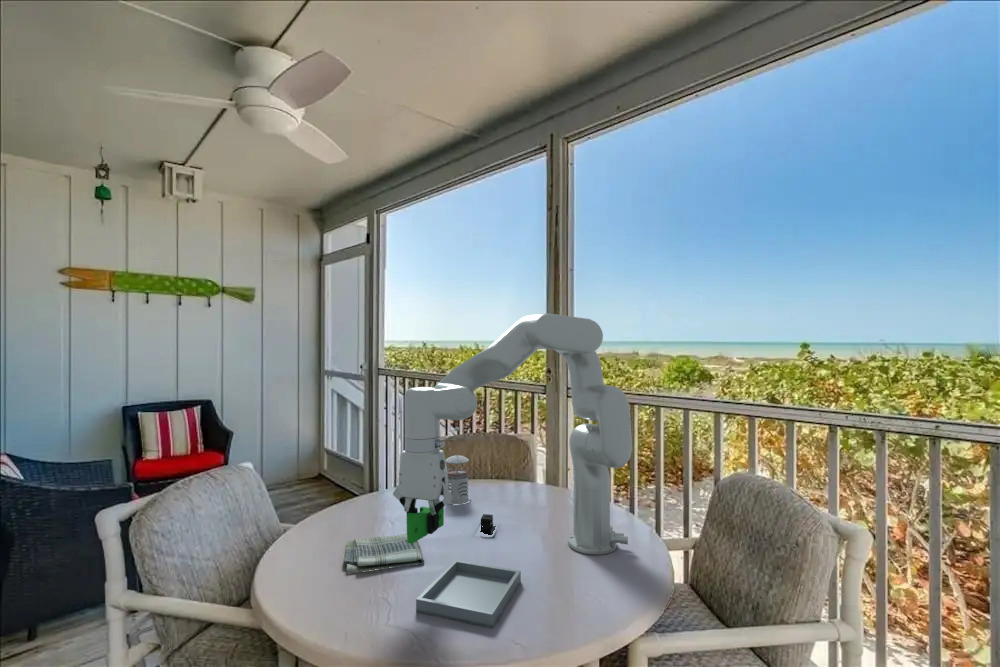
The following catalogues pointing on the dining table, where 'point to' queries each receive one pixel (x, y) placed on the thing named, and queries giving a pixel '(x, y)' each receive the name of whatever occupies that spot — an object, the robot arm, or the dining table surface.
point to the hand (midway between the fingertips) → (422, 529)
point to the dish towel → (381, 553)
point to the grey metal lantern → (458, 479)
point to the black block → (487, 524)
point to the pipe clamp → (420, 524)
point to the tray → (470, 593)
